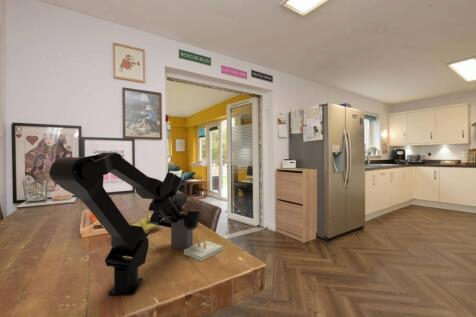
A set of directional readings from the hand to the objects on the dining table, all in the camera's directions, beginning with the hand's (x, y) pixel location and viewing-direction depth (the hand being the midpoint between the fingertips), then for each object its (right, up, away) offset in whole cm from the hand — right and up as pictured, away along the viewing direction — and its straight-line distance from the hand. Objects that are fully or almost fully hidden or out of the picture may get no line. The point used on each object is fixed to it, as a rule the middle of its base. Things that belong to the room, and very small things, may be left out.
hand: (183, 228), depth 85 cm
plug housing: (0, -7, -1) cm, 7 cm away
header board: (+9, -7, -6) cm, 13 cm away
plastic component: (-24, -7, +13) cm, 28 cm away
